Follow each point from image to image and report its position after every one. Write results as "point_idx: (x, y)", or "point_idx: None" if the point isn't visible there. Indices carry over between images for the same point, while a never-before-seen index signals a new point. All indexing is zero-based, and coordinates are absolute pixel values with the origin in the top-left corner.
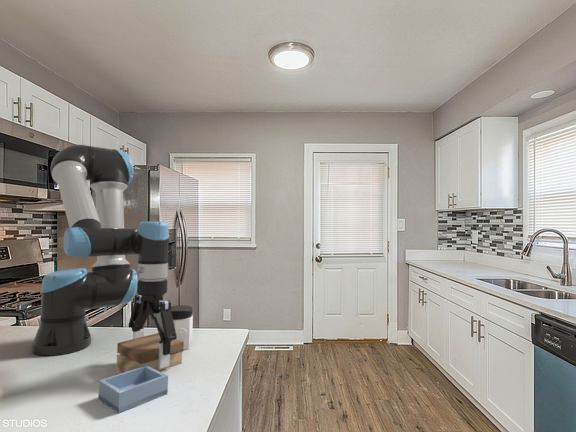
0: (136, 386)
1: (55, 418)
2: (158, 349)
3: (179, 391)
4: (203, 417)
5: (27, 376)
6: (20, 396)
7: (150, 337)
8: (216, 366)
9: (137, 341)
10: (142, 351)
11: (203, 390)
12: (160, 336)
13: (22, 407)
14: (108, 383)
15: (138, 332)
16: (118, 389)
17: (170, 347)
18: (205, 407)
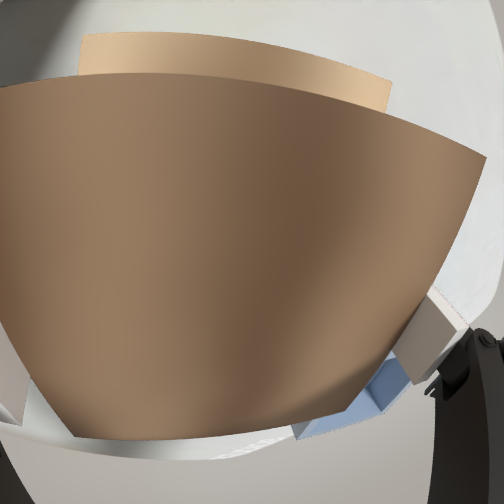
0: (401, 393)
1: (275, 434)
2: (388, 349)
3: (443, 271)
4: (491, 291)
5: (28, 427)
6: (132, 451)
7: (62, 286)
8: (473, 51)
9: (116, 392)
10: (326, 407)
11: (486, 229)
12: (441, 411)
13: (186, 453)
14: (332, 429)
15: (5, 399)
16: (372, 415)
17: (453, 307)
18: (493, 272)
